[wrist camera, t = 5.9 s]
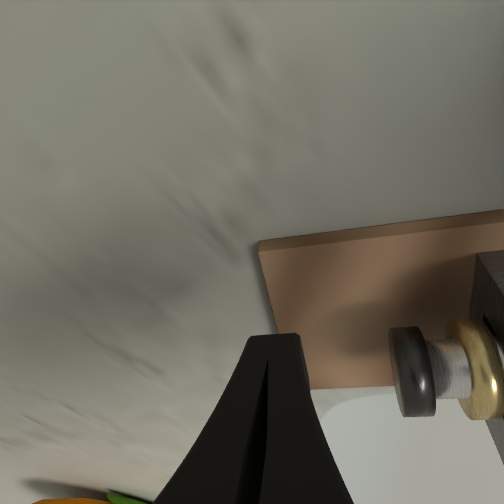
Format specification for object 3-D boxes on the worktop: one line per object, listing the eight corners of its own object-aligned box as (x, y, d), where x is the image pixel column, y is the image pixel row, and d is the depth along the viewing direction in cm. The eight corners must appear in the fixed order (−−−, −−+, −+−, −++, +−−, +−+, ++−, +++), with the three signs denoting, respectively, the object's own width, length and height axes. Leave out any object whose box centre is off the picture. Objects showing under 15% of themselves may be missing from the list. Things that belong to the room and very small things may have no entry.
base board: (637, 192, 16) (655, 203, 16) (575, 362, 22) (585, 376, 22) (259, 241, 20) (257, 252, 19) (293, 377, 26) (292, 390, 25)
